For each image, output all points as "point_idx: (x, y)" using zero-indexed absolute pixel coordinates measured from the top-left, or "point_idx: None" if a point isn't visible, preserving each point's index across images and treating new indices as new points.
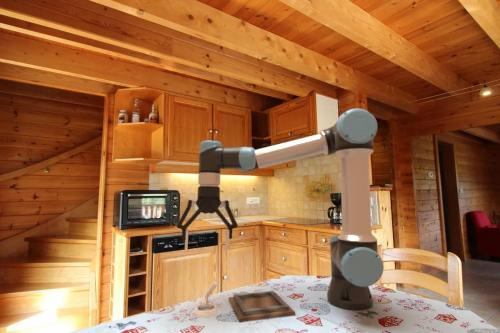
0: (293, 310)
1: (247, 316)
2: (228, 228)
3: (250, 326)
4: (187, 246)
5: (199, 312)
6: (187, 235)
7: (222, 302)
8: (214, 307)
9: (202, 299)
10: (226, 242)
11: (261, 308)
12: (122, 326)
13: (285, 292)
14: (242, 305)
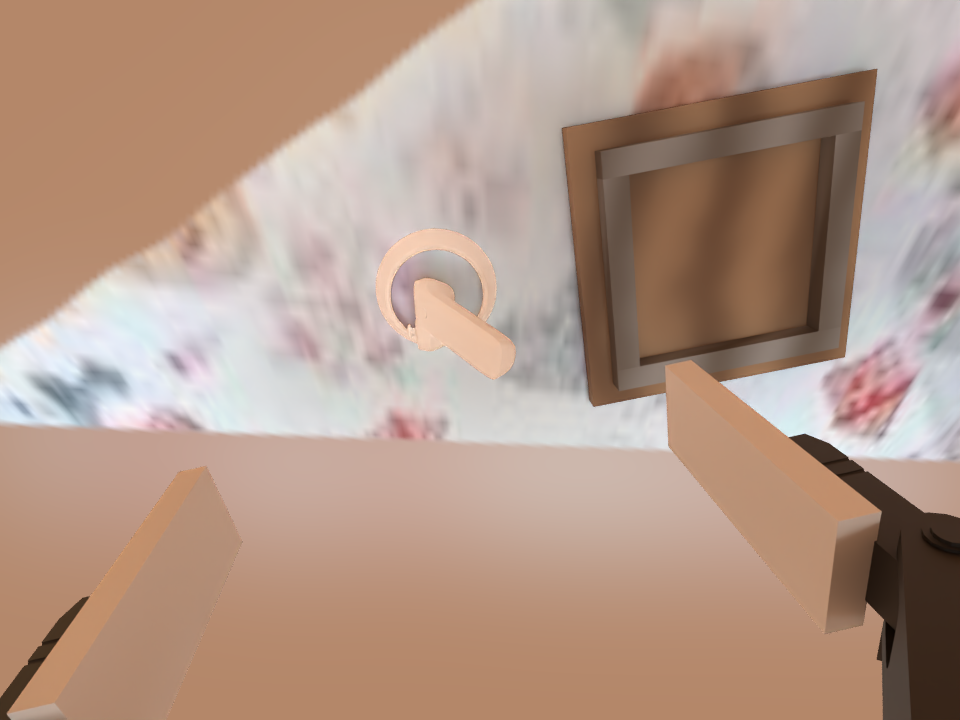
0: (844, 344)
1: (630, 390)
2: (883, 587)
3: (626, 434)
4: (225, 579)
5: (410, 339)
6: (160, 710)
7: (522, 161)
8: (482, 302)
9: (421, 342)
10: (706, 475)
11: (708, 362)
12: (82, 410)
13: (948, 17)
14: (627, 321)
